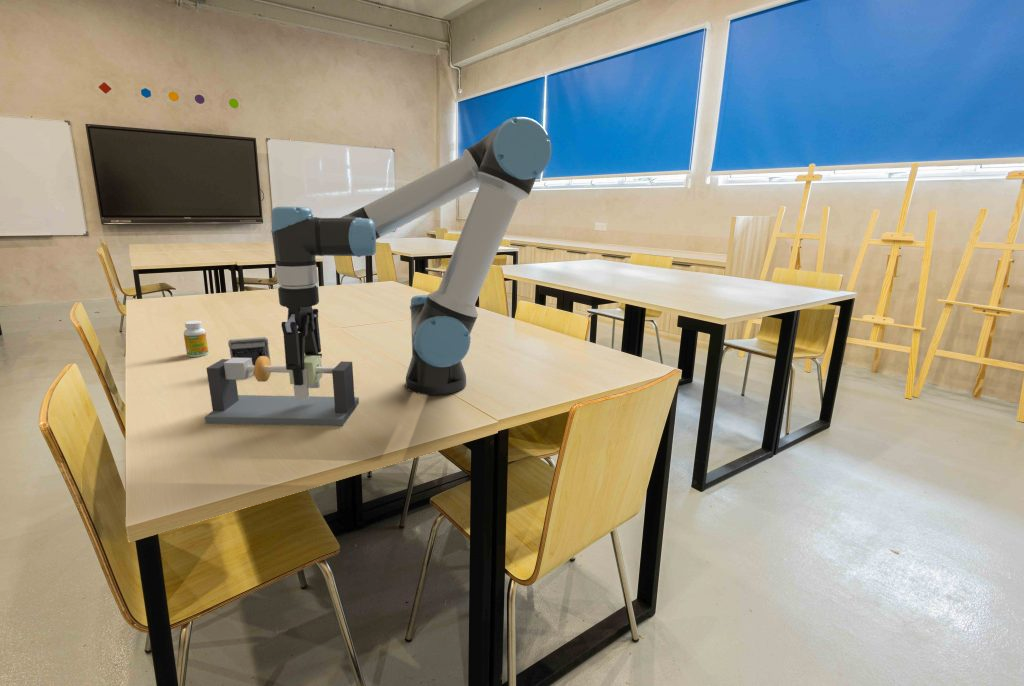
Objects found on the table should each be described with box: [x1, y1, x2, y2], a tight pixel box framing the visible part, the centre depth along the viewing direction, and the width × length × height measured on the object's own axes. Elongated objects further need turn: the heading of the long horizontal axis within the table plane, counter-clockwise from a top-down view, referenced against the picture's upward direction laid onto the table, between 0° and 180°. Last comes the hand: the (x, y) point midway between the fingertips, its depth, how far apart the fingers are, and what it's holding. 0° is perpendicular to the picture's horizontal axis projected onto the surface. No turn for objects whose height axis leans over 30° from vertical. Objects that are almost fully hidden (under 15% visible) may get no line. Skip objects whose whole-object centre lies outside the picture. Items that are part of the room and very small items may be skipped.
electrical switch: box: [227, 336, 272, 365], centre depth 134 cm, size 9×5×9 cm, turn 113°
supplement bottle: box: [183, 320, 209, 358], centre depth 147 cm, size 5×5×10 cm
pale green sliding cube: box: [288, 355, 323, 385], centre depth 108 cm, size 5×5×5 cm
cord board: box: [204, 356, 360, 427], centre depth 109 cm, size 28×12×13 cm, turn 91°
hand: (307, 392), depth 109 cm, fingers open, 6 cm apart
